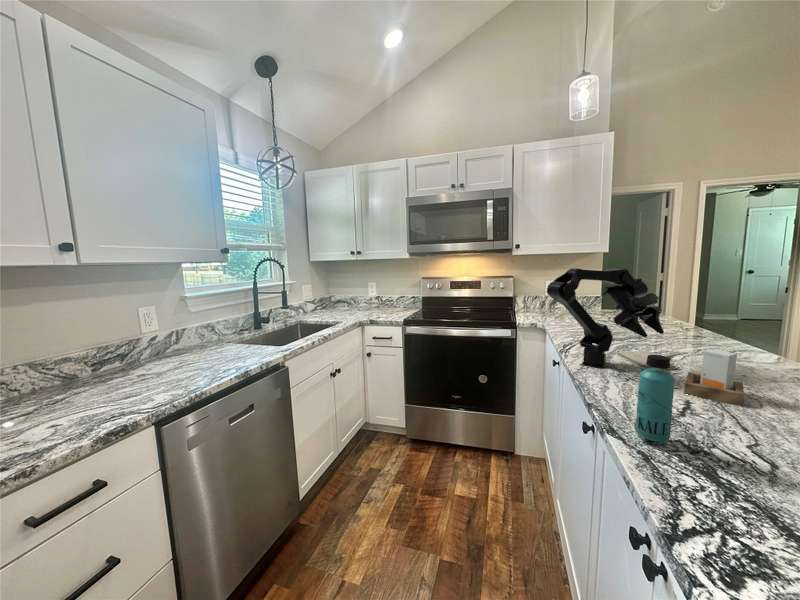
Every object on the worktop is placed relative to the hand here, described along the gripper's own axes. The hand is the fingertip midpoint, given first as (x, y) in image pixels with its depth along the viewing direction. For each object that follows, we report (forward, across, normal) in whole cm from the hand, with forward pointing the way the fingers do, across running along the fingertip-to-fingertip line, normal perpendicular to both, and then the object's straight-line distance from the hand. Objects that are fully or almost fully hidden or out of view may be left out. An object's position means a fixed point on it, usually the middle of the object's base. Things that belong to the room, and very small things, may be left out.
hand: (654, 335), depth 112 cm
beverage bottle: (+28, -45, -8) cm, 53 cm away
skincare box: (+22, -3, -4) cm, 23 cm away
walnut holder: (+22, -3, -3) cm, 23 cm away
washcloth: (+5, +10, +16) cm, 19 cm away
